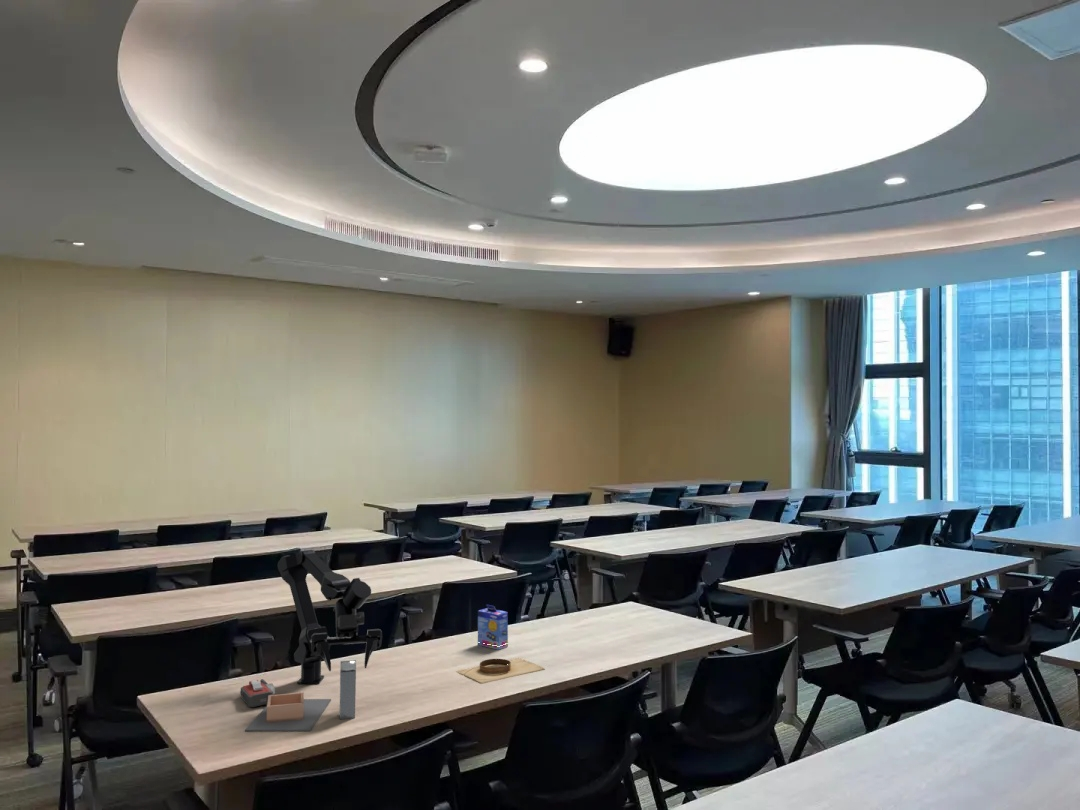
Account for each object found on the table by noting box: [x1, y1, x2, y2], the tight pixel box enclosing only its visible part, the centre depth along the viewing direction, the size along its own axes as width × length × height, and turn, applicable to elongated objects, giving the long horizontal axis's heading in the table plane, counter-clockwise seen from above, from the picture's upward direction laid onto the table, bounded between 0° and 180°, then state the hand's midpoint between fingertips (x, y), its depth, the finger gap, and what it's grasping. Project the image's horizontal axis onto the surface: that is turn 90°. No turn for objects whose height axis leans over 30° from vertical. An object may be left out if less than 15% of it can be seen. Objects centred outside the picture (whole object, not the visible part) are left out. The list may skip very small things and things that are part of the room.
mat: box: [244, 698, 332, 732], centre depth 202 cm, size 22×16×1 cm
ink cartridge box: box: [477, 604, 509, 650], centre depth 270 cm, size 10×6×14 cm, turn 54°
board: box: [455, 657, 546, 685], centre depth 242 cm, size 25×15×3 cm, turn 128°
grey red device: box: [239, 678, 276, 708], centre depth 216 cm, size 9×4×20 cm
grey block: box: [339, 660, 357, 720], centre depth 202 cm, size 3×4×14 cm
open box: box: [266, 691, 305, 723], centre depth 201 cm, size 9×9×4 cm
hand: (348, 669), depth 206 cm, fingers open, 9 cm apart
